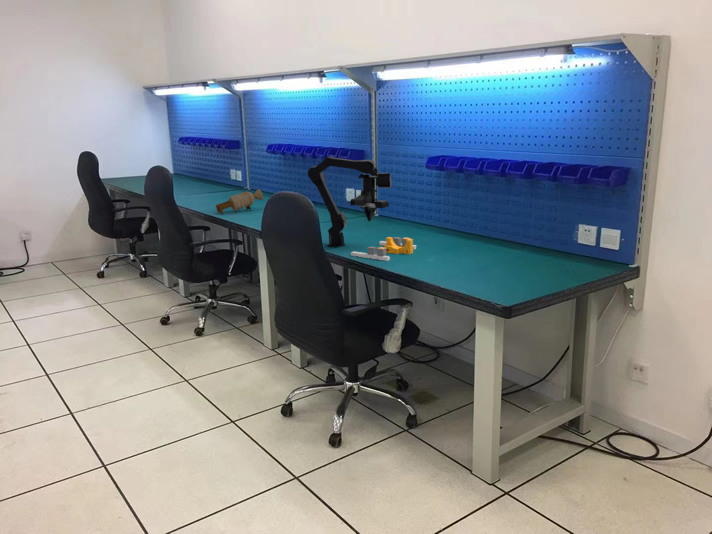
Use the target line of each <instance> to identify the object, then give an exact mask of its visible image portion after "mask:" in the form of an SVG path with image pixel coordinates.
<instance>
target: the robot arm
mask: <svg viewBox="0 0 712 534" xmlns="http://www.w3.org/2000/svg"><path fill="white" fill-rule="evenodd" d="M375 163H376V162H375V161H374V160H372V159H362V160H354V159H345V158H338V157H333V156H327V157H325V158H324V160H322V161H321V162H319V163H318V164H316V165H315V166H312V167H310V168H309V169H308V171H307V178H309V179H310V181H311V183H313V185H314V186H315V187H316V189H317V190H318V192H319V194H320V197H321V199H322V201H323V202H324V206H326V209H327V211H328V213H329V216H330V222H331V223H330V224H331V225H332V226H331V227H330V228H329V229H327V233H328V241H329V242H328V243H329V244H327V245H329V246H328V247H332V246H335V247H334V248H340V247H342V246H346V243H345V236H344V233H343V230H344V229H345V228H346V227H347V224H348V222H347V220H348V218H347V217H346V216H345V213H344V211H342V212H341V211H339V209H338V207H337V205H336V203H335V201H334V199H333V196H332V194H331V192H330V191H329V187H328V186H327V184H326V180H325V175H324V172H325V171H326V170H327V169H328V168H329V167H337V168H342V169H350V170H355V171H358V172H361V173H360V175H359V176H358V177H357V178H358V179H362V190H361V191H360V194H359V195H357V196H356V197H355V198H351V199H350V201H349V206H357V207H358V206H359V208H360V209H362V210H363V211H364V214H365V215H366V219H367V221H368V222H372V219H373V217H374V215H375V212H376V211H377V209H385V208H389V207H390V203H389V201H388V200H383V199H381V200H378V198H376V193H377V191H378V190H377V189H376V186H377V188H378V189H383V188H384V189H391V188H392V182H393V181H392V176H391V172H380V171H379V170H378V168H377V167H376V164H375ZM339 246H340V247H339Z"/></svg>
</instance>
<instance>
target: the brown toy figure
mask: <svg viewBox="0 0 712 534" xmlns="http://www.w3.org/2000/svg"><path fill="white" fill-rule="evenodd" d="M255 200H259V201H263V200H264V195H263V192H262V191H261V189H260V188H257V189H256V191H254V193H252V192H250V191H243V192H241V193H237V194H234V195H231V196H229V197H228V200H227V201H224V202H221V203H218V204H215V208H216V211H217V213H218V212H220V213H219V214H220V215H222V214H223V215H224V212H223V211H224V210H226V209H229V208H231V209H232V211H235V212H236V211H241V209H244V208H246V210H247V209H251V210H252V207H251V206H252V205H253V204H254V202H255Z"/></svg>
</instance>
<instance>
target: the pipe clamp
mask: <svg viewBox="0 0 712 534" xmlns="http://www.w3.org/2000/svg"><path fill="white" fill-rule="evenodd" d="M393 238H394V237H392V236H388V237H386V238H385V242H386V245H385V246H384V248H386V254H392V255H398V254H403V253H404V255H411V253H412V254H414V249H413V245H414V239H413V238H411V239H408V240H406V244H405V246H404V247H399V246H397V245H396V244H395V243H394V241H393Z"/></svg>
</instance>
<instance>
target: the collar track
mask: <svg viewBox="0 0 712 534" xmlns="http://www.w3.org/2000/svg"><path fill="white" fill-rule="evenodd" d="M408 239H412V238H411V237H398V236H397V237H396V236H395V237H393V241H394V243H395V244H396V245H397V246H399V247H404V246H405V244H406V240H408ZM385 245H386V240H385V241H384V240H380V241H379V242H378V246H380V247H376V246H368V247H367V252H359V251H354V250H353V251H352V252H350V256H351V257H357V256H358V257H359V258H364V259H370V258H371V260H372V259H373V260H377V259H378V261H379V260H380V261H385V262H388V261H390V260H391V256H389V255H387V253H386V248H384V247H383V246H385ZM416 249H417V245H416V244H413V250H416Z"/></svg>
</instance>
